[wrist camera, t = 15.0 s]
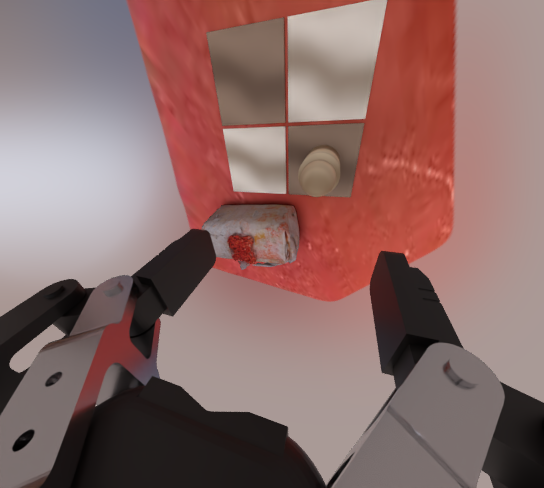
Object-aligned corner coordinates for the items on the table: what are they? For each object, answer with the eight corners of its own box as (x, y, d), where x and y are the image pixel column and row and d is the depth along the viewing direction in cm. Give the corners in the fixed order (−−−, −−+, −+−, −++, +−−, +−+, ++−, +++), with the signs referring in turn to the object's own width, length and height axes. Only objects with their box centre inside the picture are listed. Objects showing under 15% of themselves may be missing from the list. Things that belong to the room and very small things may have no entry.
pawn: (305, 145, 24) (293, 160, 18) (342, 144, 23) (343, 159, 16) (304, 180, 27) (293, 205, 20) (337, 181, 26) (337, 207, 19)
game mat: (207, 33, 21) (206, 32, 21) (387, -3, 16) (387, -3, 16) (234, 190, 31) (233, 191, 31) (350, 196, 26) (350, 197, 26)
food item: (301, 197, 29) (286, 231, 21) (303, 242, 33) (291, 284, 25) (221, 199, 33) (184, 228, 25) (232, 238, 37) (204, 273, 30)
